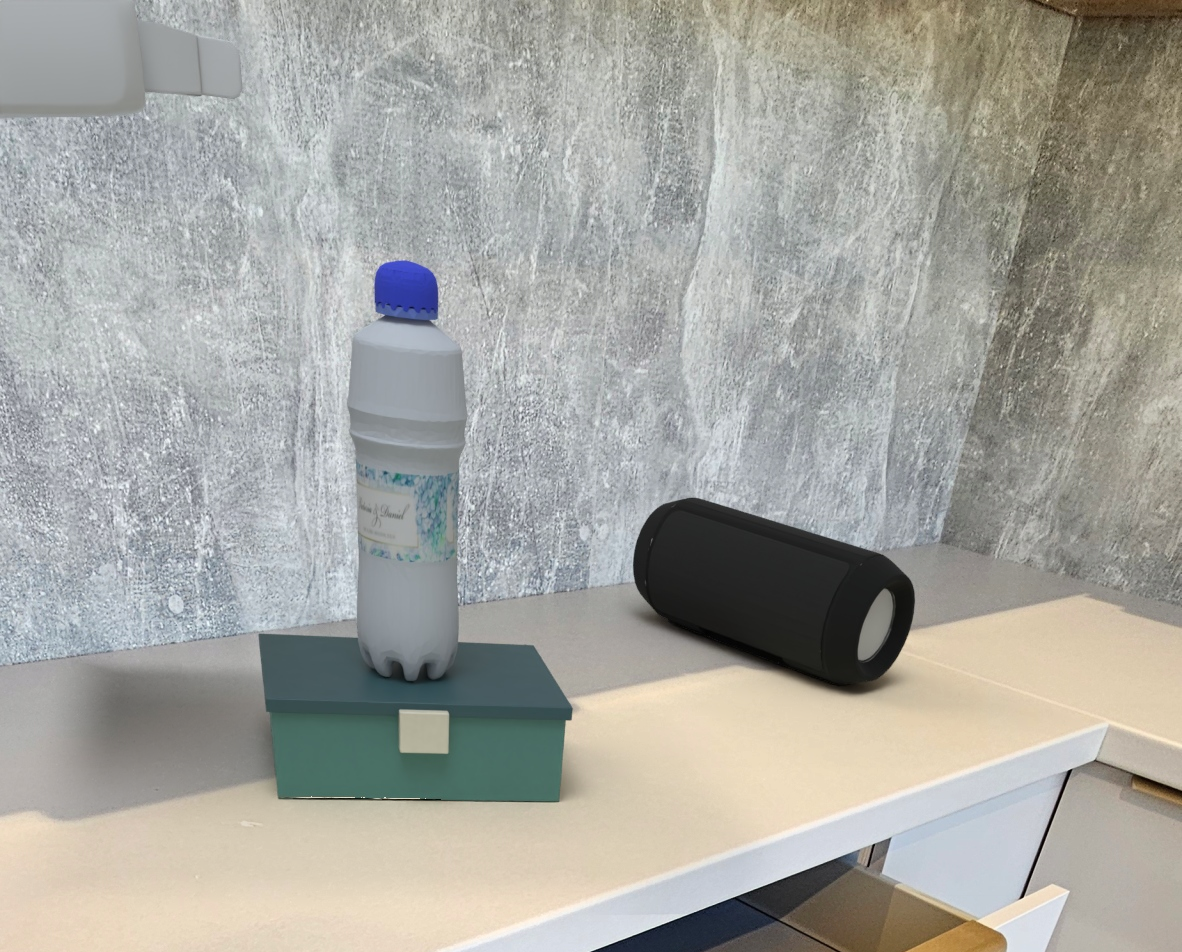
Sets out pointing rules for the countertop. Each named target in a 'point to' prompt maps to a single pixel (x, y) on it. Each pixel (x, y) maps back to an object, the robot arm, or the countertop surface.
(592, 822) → the countertop surface
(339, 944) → the countertop surface
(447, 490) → the bottle
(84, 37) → the robot arm
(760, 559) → the portable speaker
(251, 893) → the countertop surface
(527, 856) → the countertop surface
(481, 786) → the lunchbox
